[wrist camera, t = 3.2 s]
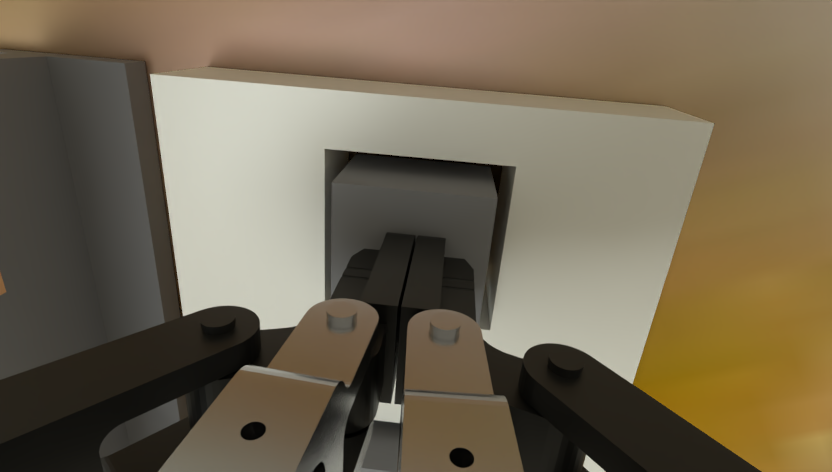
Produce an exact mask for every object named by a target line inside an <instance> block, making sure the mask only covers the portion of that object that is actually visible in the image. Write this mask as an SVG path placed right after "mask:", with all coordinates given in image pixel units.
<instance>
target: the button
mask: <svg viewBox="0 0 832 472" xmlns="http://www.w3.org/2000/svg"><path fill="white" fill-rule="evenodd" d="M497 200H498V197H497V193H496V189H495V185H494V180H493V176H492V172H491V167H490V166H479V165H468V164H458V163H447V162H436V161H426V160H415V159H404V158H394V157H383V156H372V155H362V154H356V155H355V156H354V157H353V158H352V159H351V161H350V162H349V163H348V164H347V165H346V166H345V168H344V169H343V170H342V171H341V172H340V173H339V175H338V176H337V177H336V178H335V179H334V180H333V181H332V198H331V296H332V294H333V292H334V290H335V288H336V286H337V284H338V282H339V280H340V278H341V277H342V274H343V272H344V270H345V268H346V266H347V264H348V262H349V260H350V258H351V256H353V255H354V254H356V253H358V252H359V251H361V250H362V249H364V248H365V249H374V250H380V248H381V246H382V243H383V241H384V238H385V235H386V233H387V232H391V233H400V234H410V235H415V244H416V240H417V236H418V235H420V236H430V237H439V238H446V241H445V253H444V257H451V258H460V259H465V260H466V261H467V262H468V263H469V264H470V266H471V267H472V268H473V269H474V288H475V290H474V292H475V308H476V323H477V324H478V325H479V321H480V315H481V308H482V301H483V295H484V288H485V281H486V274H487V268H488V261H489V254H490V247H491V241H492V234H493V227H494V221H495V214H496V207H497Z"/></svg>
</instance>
